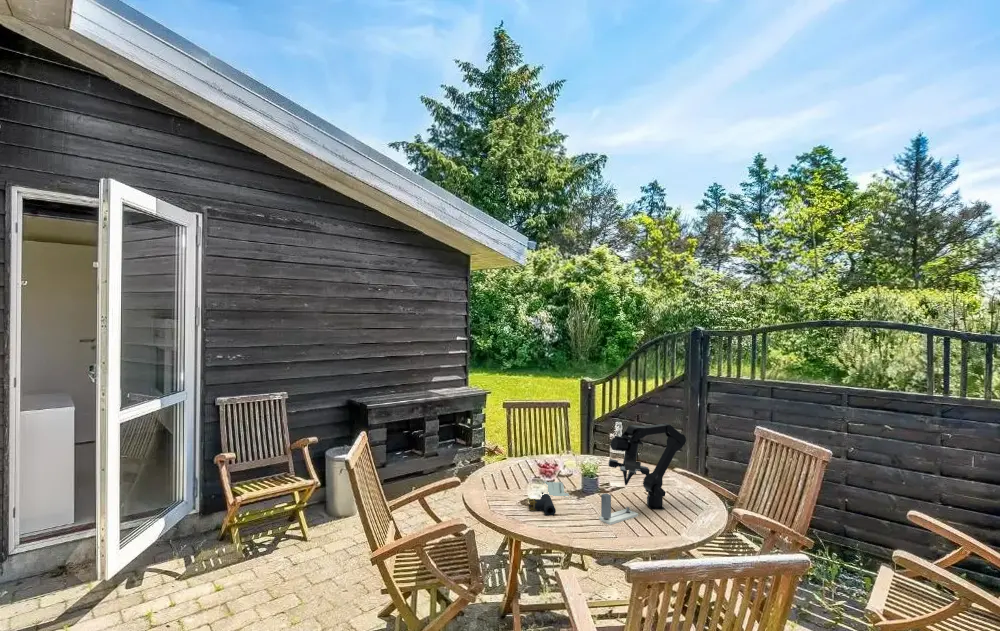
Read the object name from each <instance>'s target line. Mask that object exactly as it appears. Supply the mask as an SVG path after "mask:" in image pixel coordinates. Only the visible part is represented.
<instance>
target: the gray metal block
mask: <svg viewBox="0 0 1000 631" xmlns="http://www.w3.org/2000/svg"><path fill="white" fill-rule="evenodd" d="M600 500H601V502H600V503H601V504H600V505H601V507H600V508H601V513H600V514H601V515H600V516H601V517H603V518H605V519H607V518H611V513H612V495H611V494H610V493H607V492H606V493H605V492H604V493H602V494H601V498H600Z"/></svg>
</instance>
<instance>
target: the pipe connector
mask: <svg viewBox="0 0 1000 631" xmlns="http://www.w3.org/2000/svg"><path fill="white" fill-rule="evenodd" d="M528 502H529V504H528V509H529V511H530V512H531V511H544V513H545V515H546V516H547V515H553V516H555V515H556V511H557V510H556V507H555V504H554V502H553V499H552V497H550V496H549V495H548V494H544V495H542V497H540V499H539V498H538V499H537V498H528Z"/></svg>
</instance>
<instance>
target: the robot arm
mask: <svg viewBox="0 0 1000 631" xmlns="http://www.w3.org/2000/svg"><path fill="white" fill-rule="evenodd" d="M659 434H664V435H665V436H666V437H667V439H666V448H665V449H664V451H663V453H662V454H661V456H660V458H659V460H658V462H657V464H656V465H655V468H654V470H653V471H651V473H650V469H649V467H648V466H644V465H642V462H641V461H639V460H638V461H637V459H638V458H637V456H638V451H639V445H644V443H643V442H642V440H641V439H644V438H646V437H647V436H653V435H659ZM686 442H687V439H686V435H685V434H683V433H681V432H680V431H678V430H677V429H676V428H674V427H673V426H672V425H671V424H669V423H666V422H665V423H660V424H652V425H650V424H649V425H644V426H642V425H637V424H631V425H628V426H627V428H626V430H625V431H624V432H623V433H622V434H621V435H620V436H619V435H614V437H613V438H612V439H611V441H610V448H611V450H613V451H616V452H617V451H618V452H624V455H623V456H624V457H623V462H622V463H621V462H619V461H618V460H616V459H612V458H609V459H608V467H609V468H614V469H617V468H618V467H619V470H620V472H622V474H623V481H624V486H628V483H630V481H631V478H632V477H633V476H634V475H637V472H640V473H641V474H642V475H644V476H645V477H644V478H643V479H642V480H643V482H642V485H643V488H644V489H645V492H646V493H647V495H646V505H647V506H648V508H650V510H664V509H665V507H664V504H663V502H664V499H663V498H665V497H666V494H667V493H666V491H665V490H664V489H663V487H662V486H663V485H664V484H663V479H664V475H665V474H666V471H667V470H668V467H669V466H670V464H671V462H672V461H673V458H674V457H675V455H676V453H677V452H678V451H680V450H682V449H683V447H684V445H686Z"/></svg>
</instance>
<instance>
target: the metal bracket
mask: <svg viewBox="0 0 1000 631" xmlns="http://www.w3.org/2000/svg"><path fill="white" fill-rule="evenodd" d="M543 482H544V483H546V484H547V485H548V492H549V495H553V496H569V497H570V494H569V492H565V488H564V486H565V485H564V482H561V480H560V481H558V482H557V481H556V482H554V481H552V482H551V481H549V482H548V481H547V480H545V481H543Z"/></svg>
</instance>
